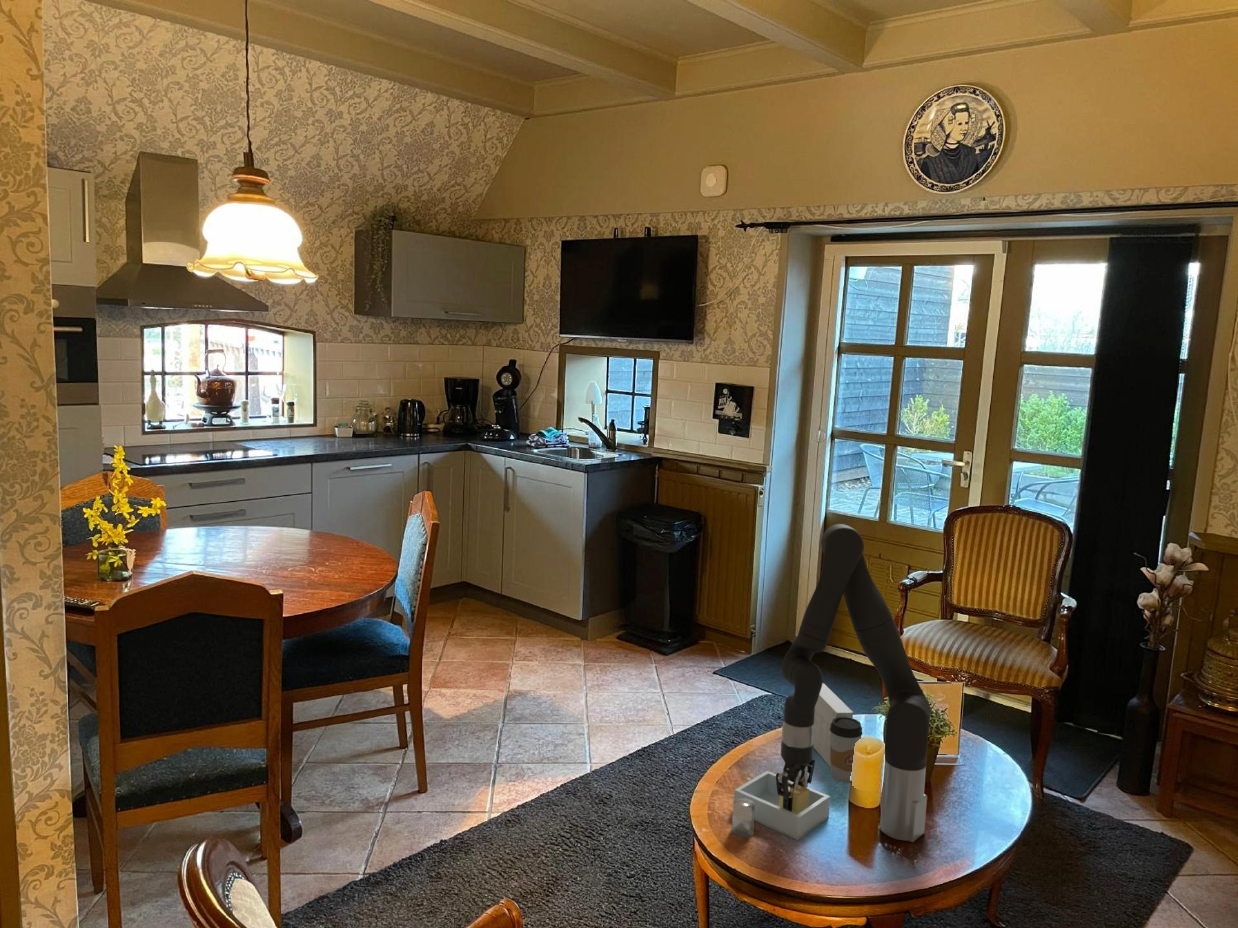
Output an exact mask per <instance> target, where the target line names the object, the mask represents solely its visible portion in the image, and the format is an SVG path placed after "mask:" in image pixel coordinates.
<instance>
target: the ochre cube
mask: <svg viewBox="0 0 1238 928" xmlns="http://www.w3.org/2000/svg"><path fill="white" fill-rule="evenodd" d="M790 783H791V784H793V782H790ZM788 790H789V791H790V787H788ZM808 801H809V789H807V788H805V787H802V786H800V785H797V788H796V789H794V793H793V802H792V811H791V812H792V813H794V814H799V813H800V812H802V811H803V810H805V809H806V808H808ZM779 807H781V808H783V797H782V796H780V795H779Z"/></svg>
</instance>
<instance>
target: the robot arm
mask: <svg viewBox="0 0 1238 928" xmlns="http://www.w3.org/2000/svg"><path fill="white" fill-rule="evenodd" d="M821 536H822V537H821V541H820V543H821V544H820V546H821V551H822V553H823V560H822V566H821V572H820V575H819V579H818V582H817V583H816V586H815V589H814V592H813V593H812V596H811V597H810V599H809V602H808V604H807V607H806V609H805V611H804V615H803V617H802V621H801V623H800V627H799V630H798V633H797V636H796V637H795V639H794V641H793V642H792V644H791V646H790V647H789V649H788V651H787V652H786V653H785V656H784V658H783V659H782V664H781V673H782V676H783V678H784V680H786V681H787V682H788V683H790V685H792V686H793V687H794V692H793V694H790V695H788V696H787V697H786V699H785V701H784V707H783V708H784V713H783V724H782V728H781V744H780V745H781V746H780V757H781V759H782V760H783V761H784V766H783V770H782V772H781V773H779V772H776V773H775V774H776V785H777V794H778V795H780V796H782V797H783V809H785V810H788V811H790V812H791V811H792V802H793V793H794V789H796V788H797V785H800V786H802V787H805V788H807V787H808V786H809V785H808V784H810V785H811V784H812V782H813V777H814V772H815V771H814V770H815V766H816V759H815V758H814V749H815V748H814V714H815V705H816V703H817V700H818V697H819V694H820V691H821V688H822V684H823V681H824V680H823V674H822V673H823V672H822V670H821V668H820V667H819V666H818V665H817V664H816V663H814V662H813V661H812V658H813V657H814V655H815V653H822V652H824V651H825V650H826V648H827V646H828V643H829V640H830V637H831V634H832V630H833V628H834V624H835V622H836V621H835V620H836V618H837V614H838V612H839V607H840V604H841V601H842V598H844V601H845V602H844V603H845V605H846V609H847V611H848V615H849V618H850V620H851V624H852V627H853V630H854V632H855V635H856V637H857V639H858V643H859V644H860V647H861V648H862V651H863V652H864V655H865V656H866V657H867V658H868V660H869V661H870V663H871V664H872V665H873V667H874V668H875V669H876V671H877V672H878V674H879V676H880V678H881V680H882V683H883V685H884V689H885V691H886V695H887V697H888V698H887V699H888V703H889V707H888V711H887V714H886V725H885V736H884V737H885V740H884V741H885V742H884V743H885V744H884V752H885V753H884V754H885V755H884V769H883V780H882V781H883V782H882V793H881V795H882V796H881V807H880V808H881V809H880V817H879V819H880V823H879V829H880V831H881V832H882V833H883V834H885V835H886V836H888V837H889V838H892V839H894V840H899V841H908V842H911V843H914V842H915V841H917V840H918V839H919V838H920V837H922V836H923V834H924V833H925V827H926V818H927V817H926V815H927V803H928V802H927V801H928V795H927V794H925V784H926V769H927V762H928V761H927V760H928V742H929V741H928V740H929V729H930V721H931V715H932V711H931V710H932V709H931V707H930V706H931V705H930V703H929V700H928V699H927V697H926V694H925V693H924V692H923V689H922V687H921V686H920V684H919V682H918V680H917V678H916V676H915V674H914V672H913V670H912V667H911V665H910V662H909V659H908V655H907V652H906V648H905V645H904V644H903V640H902V638H901V635H900V633H899V629H898V627H897V625H896V622H895V620H894V617H893V615H892V612H891V611H890V608H889V606H888V604H887V603H886V600H885V599H884V597H883V595H882V594H881V591H880V590H879V588H878V587H877V585H876V584H875V583H876V582H875V581H874V580H873V578H872V576H871V574H870V572H869V569H868V566H867V562H866V559H865V557H864V553H863V552H864V550H865V543H864V539H863V537H862V535H861V534H860V533H859V532H858V531H857V530H856V529H855V528H853V527H852V526H850V525H847V524H845V523H837V524H833V525H831V526H829V527H828V528H827V529H826V530H825V531H824V533H823V534H822V535H821ZM788 781H791V782H793V784H791V783H789V782H788ZM788 787H790V791H789V790H788ZM808 788H809V787H808Z"/></svg>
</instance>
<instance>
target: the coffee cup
mask: <svg viewBox="0 0 1238 928" xmlns="http://www.w3.org/2000/svg"><path fill="white" fill-rule="evenodd" d="M861 724H862V723H861V722H860V720H857V719H855V718H848V717H837V718H834V719H833V721H832V723H831V725H830V731H831V745H830V762H831V767H830V774H831V777H832V778H833V779H834V780H835V779H836V781H838V782H841V781H842V783H850V782H849V781H850V776H851V772H852V763H853V755H854V746H855V743H856V742H857V741H858V740H859V739H861V740H862V735H863V727H862V725H861Z"/></svg>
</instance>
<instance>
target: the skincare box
mask: <svg viewBox="0 0 1238 928" xmlns="http://www.w3.org/2000/svg"><path fill="white" fill-rule="evenodd" d="M837 717H848V718H853V717H854V711H853V710H851V709H850V707H848V706H847V704H846V703H844V701H842V700H841V699H840V698H839V697H838V696H837V695H836V694H835V692H833V691H832V690H831V689H830V688H829V687H828V685H826V684H825V683H822V688H821V691H820V694H819V697H818V700H817V703H816V705H815V714H814V748H813V749H815V751H816V752H817V753H818V754H819V755H820V757H821V758H822V760H824V761H825V762H826V764H827V765H828V766H829V768H831V762H830V745H831V731H830V725H831V723H832V721H833V719H834V718H837ZM853 719H854V718H853Z"/></svg>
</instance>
